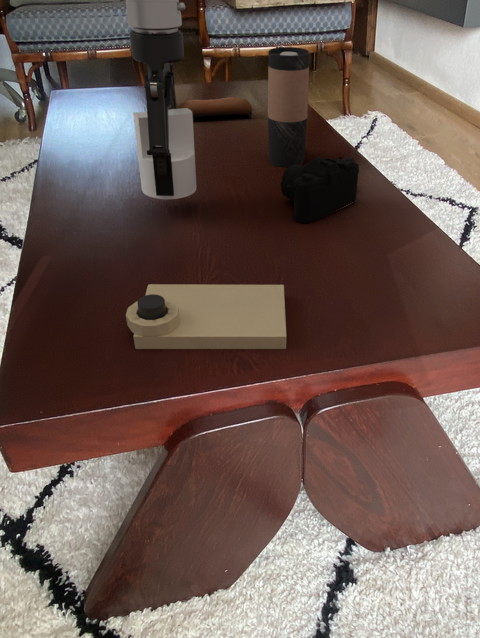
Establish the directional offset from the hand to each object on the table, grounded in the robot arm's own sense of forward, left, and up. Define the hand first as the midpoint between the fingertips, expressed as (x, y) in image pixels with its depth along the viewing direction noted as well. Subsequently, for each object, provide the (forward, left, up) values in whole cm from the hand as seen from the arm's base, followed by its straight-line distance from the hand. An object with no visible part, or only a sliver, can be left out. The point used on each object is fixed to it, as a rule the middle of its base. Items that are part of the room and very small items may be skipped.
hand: (168, 183), depth 101 cm
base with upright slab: (0, 0, -1) cm, 1 cm away
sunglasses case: (+3, +54, -5) cm, 54 cm away
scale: (+9, -34, -5) cm, 35 cm away
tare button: (+2, -37, -2) cm, 37 cm away
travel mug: (+20, +24, -5) cm, 32 cm away
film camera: (+24, +2, -5) cm, 25 cm away
